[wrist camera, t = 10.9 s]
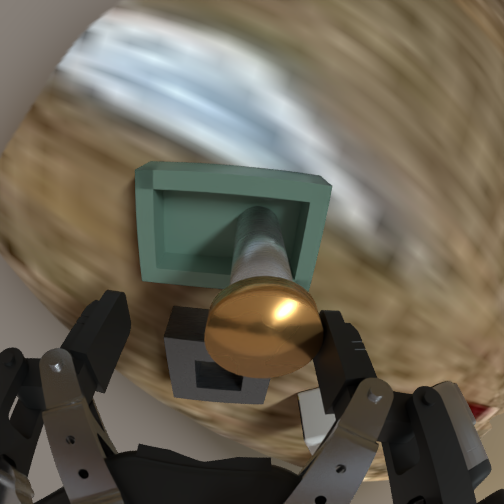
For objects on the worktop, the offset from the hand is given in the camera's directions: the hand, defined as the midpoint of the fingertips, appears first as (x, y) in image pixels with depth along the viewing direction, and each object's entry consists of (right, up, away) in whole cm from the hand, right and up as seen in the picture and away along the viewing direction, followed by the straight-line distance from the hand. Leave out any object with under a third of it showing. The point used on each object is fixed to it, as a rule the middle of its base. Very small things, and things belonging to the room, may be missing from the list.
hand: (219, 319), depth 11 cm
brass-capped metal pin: (+2, +5, +9) cm, 10 cm away
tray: (0, +5, +9) cm, 11 cm away
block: (-2, -6, +15) cm, 17 cm away
